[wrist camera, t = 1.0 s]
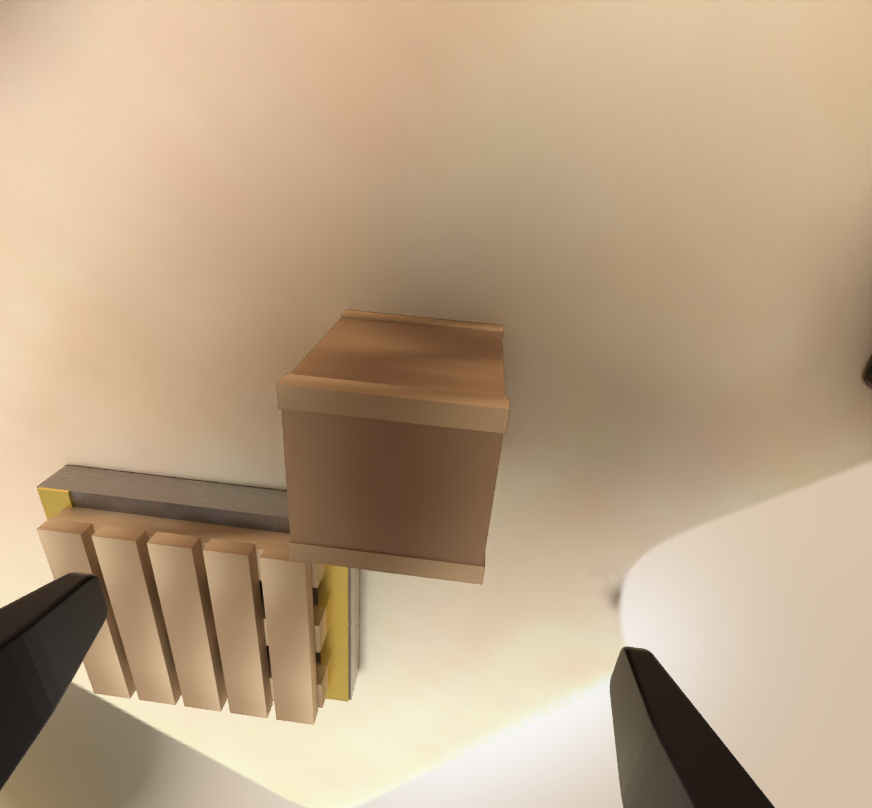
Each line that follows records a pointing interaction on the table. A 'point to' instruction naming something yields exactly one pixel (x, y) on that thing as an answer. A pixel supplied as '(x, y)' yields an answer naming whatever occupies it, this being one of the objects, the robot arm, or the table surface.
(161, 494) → the dock
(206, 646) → the pallet
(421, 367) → the crate
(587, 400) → the table surface
